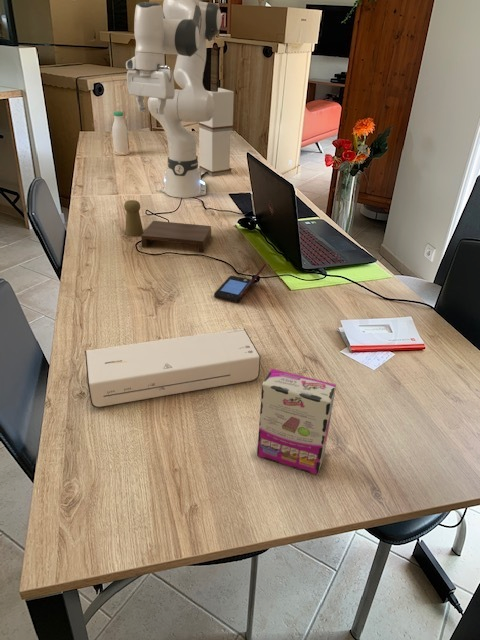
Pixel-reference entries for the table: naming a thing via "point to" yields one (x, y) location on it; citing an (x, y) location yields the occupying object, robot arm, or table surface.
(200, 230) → the desk riser
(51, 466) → the table surface
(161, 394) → the laminator
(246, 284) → the handheld console
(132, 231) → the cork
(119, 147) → the milk bottle
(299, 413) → the candy bar box
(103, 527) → the table surface
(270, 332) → the table surface
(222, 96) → the white square pillar
